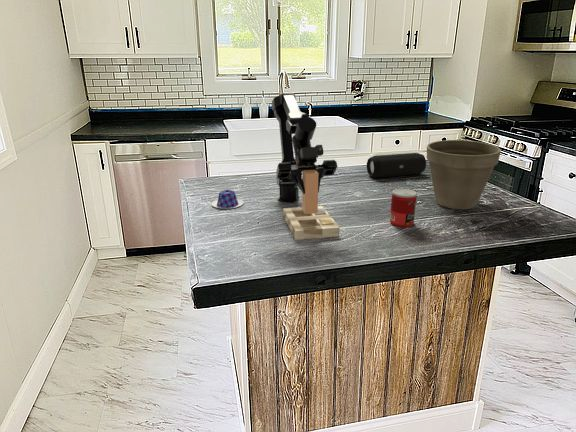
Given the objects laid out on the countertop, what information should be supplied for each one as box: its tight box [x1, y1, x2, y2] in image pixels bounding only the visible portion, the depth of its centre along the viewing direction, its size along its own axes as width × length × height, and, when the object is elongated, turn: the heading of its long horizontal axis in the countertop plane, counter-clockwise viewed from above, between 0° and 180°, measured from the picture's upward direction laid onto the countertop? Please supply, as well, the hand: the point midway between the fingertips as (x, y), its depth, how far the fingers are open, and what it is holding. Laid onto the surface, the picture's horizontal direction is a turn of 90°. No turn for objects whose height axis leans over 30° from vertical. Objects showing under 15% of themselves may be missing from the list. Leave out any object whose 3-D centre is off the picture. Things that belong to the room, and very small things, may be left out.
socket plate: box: [282, 205, 341, 241], centre depth 147 cm, size 20×14×3 cm
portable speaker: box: [366, 152, 427, 179], centre depth 202 cm, size 26×10×10 cm, turn 104°
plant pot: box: [426, 139, 502, 210], centre depth 164 cm, size 25×25×22 cm
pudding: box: [211, 189, 245, 210], centre depth 168 cm, size 12×12×5 cm
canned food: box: [389, 188, 418, 228], centre depth 148 cm, size 8×8×11 cm
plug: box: [301, 170, 319, 214], centre depth 138 cm, size 4×4×13 cm
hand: (311, 193), depth 137 cm, fingers closed on plug, 4 cm apart
